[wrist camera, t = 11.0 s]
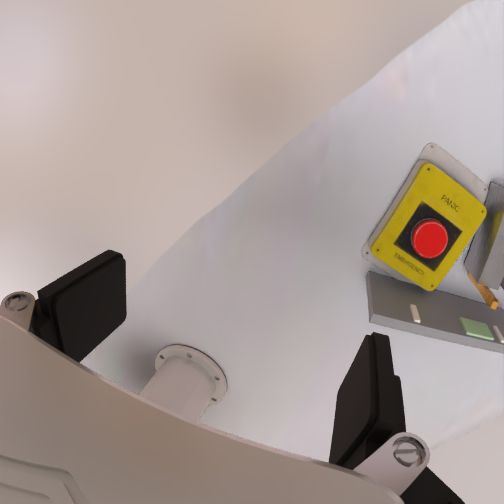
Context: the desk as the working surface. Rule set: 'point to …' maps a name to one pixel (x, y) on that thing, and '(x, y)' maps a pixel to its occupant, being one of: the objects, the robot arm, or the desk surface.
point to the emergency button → (428, 220)
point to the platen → (489, 248)
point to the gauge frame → (434, 313)
